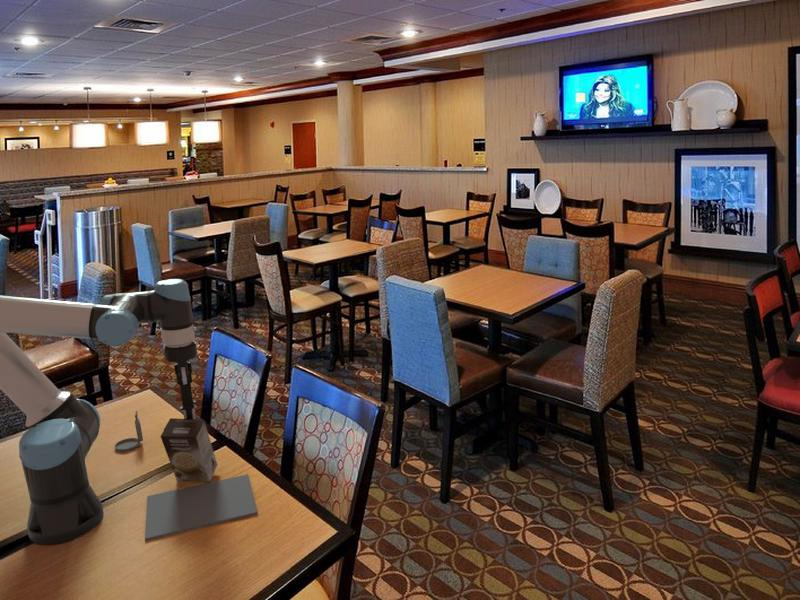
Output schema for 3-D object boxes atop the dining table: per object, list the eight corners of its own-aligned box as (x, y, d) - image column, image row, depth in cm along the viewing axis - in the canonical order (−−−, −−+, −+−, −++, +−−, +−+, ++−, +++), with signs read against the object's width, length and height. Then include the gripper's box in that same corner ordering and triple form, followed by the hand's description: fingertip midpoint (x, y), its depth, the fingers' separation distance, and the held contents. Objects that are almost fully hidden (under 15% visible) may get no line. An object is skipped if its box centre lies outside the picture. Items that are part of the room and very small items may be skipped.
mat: (145, 541, 130) (144, 538, 130) (147, 498, 146) (147, 495, 145) (257, 514, 138) (257, 511, 138) (248, 476, 154) (248, 474, 153)
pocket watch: (110, 449, 170) (104, 417, 167) (134, 436, 177) (129, 405, 175) (129, 455, 166) (123, 422, 164) (154, 442, 173) (149, 410, 171)
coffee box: (175, 482, 152) (158, 436, 144) (185, 463, 157) (168, 417, 149) (210, 483, 151) (194, 436, 143) (219, 463, 156) (204, 418, 148)
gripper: (197, 348, 142) (208, 438, 148) (194, 332, 154) (205, 417, 160) (163, 353, 139) (176, 445, 145) (162, 337, 151) (175, 422, 157)
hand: (191, 430), depth 153 cm, fingers closed
